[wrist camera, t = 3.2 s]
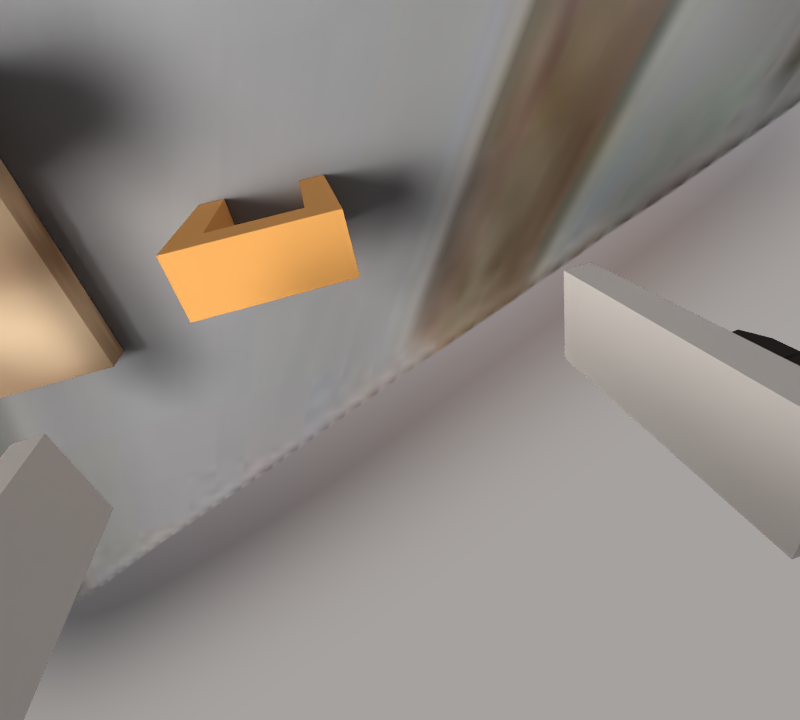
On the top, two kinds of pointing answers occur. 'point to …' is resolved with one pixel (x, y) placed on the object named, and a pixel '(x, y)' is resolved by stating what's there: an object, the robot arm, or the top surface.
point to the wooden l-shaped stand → (43, 305)
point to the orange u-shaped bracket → (258, 254)
